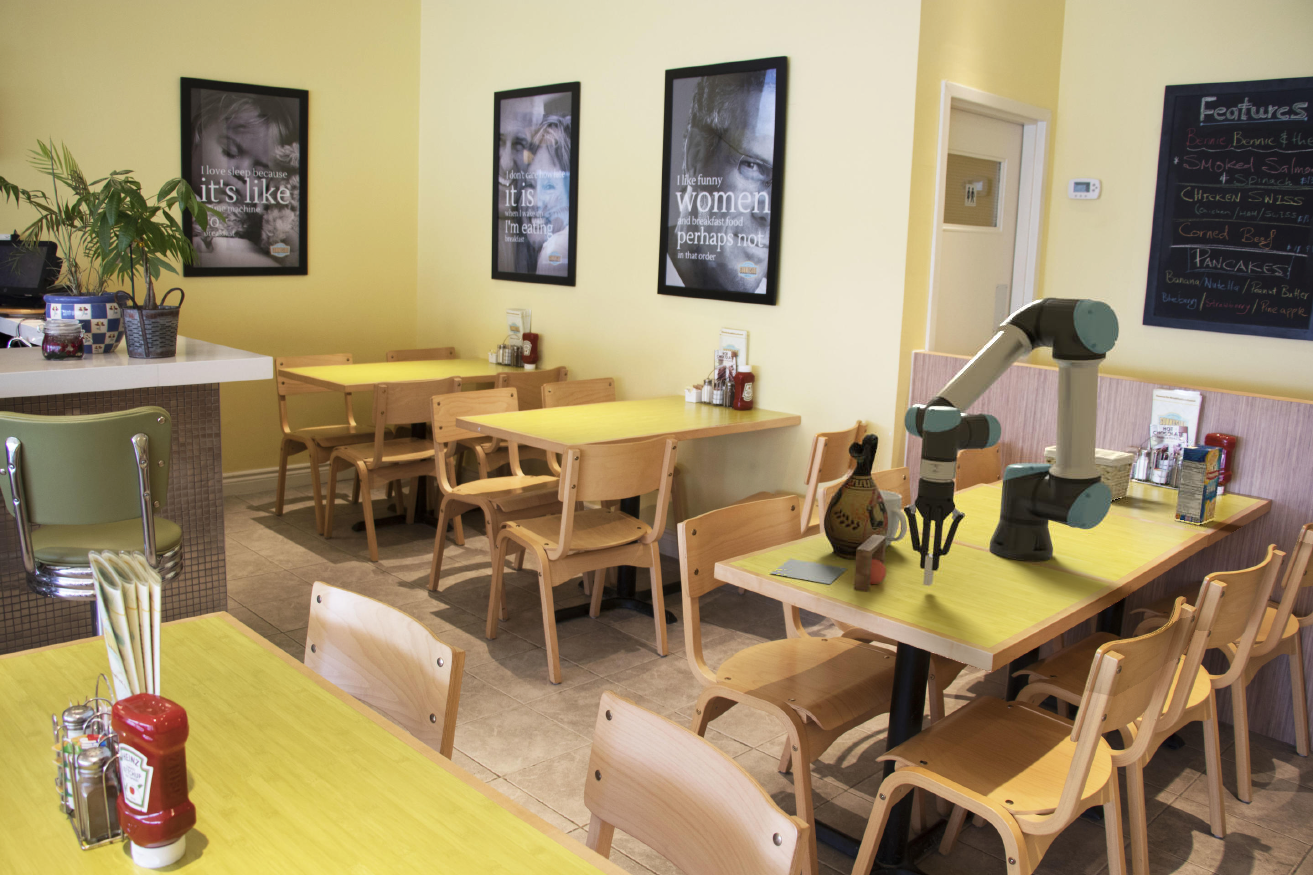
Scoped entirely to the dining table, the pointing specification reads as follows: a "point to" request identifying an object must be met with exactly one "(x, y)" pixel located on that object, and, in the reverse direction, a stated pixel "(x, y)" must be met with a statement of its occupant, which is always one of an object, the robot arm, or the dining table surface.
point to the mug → (894, 516)
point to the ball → (877, 571)
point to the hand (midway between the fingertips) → (927, 583)
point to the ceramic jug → (856, 504)
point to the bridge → (868, 560)
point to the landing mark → (810, 571)
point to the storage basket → (1106, 468)
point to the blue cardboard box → (1198, 483)
